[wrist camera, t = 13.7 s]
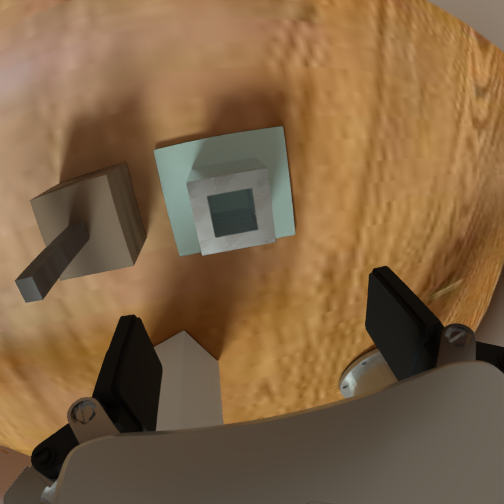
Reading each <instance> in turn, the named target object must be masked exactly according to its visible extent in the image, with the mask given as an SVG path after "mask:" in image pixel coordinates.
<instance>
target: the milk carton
mask: <svg viewBox="0 0 504 504" xmlns="http://www.w3.org/2000/svg"><path fill="white" fill-rule="evenodd" d="M154 349H155V351H156V353H157V355H158V358H159V360H160V362H161V364H162V368H163V374H162V381H161V389H160V398H159V406H158V415H157V425H156V431H164V430H177V429H188V428H199V427H208V426H217V425H223V413H222V401H221V389H220V375H219V362H218V361H217V360H216V359H215V358H213V357H212V356H211V355H210V354H209V353H208V352H207V351H206V350H205V349H204V348H203V347H201V346H200V345H199V344H198V343H197V342H196V341H195V340H194V339H193V338H192V337H191V336H190V335H189V334H188V333H187V332H186V331H182V332H180V333H178V334H176V335H174V336H173V337H171V338H169V339H167V340H166V341H164V342H162V343H160V344H159V345H157V346H155V347H154Z"/></svg>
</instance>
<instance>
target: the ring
mask: <svg viewBox="0 0 504 504" xmlns="http://www.w3.org/2000/svg"><path fill="white" fill-rule="evenodd" d="M186 185H187V190H188V194H189V199H190V204H191V208H192V213H193V217H194V222H195V226H196V231H197V235H198V240H199V244H200V248H201V252H202V256H203V255H208V254H214V253H219V252H224V251H230V250H235V249H241V248H246V247H252V246H257V245H263V244H268V243H274V242H276V235H275V226H274V218H273V209H272V201H271V193H270V185H269V178H268V170H267V168H266V167H265V166H264V165H263V164H262V163H261V162H260V161H259V160H258V159H257V158H256V157H254V158H248V159H242V160H236V161H230V162H224V163H218V164H213V165H208V166H202V167H197V168H192V169H191V171H190V173H189V176H188V179H187V182H186ZM243 189H246V190H247V197H248V203H249V207H247V208H241V209H235V210H230V211H224V212H219V213H214V210H213V205H212V200H211V195H215V194H221V193H226V192H232V191H238V190H243Z"/></svg>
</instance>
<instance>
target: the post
mask: <svg viewBox="0 0 504 504" xmlns="http://www.w3.org/2000/svg"><path fill="white" fill-rule="evenodd" d="M30 202H31V205H32V208H33V211H34V214H35V217H36V220H37V223H38V226H39V229H40V232H41V235H42V237H43V240H44V243H45V245H46V248H45V249H44V250H43V251H42V252H41V253H40V254H39V255H38V256H37V257H36V258H35V259H34V260H33V261H32V263H31V264H30V265H29V266H28V267H27V268H26V269H25V270H24V271H23V272H22V273H21V274H20V276H19V277H18V278H17V279H16V280H15V282H16V284H17V286H18V288H19V290H20V292H21V294H22V296H23V298H24V300H25V302H26V303H27V302H33V301H38V300H43V299H44V298H45V296H46V295H47V293H48V292H49V291H50V289H51V288H52V286H53V285H54V284H55V282H56V281H57V280H58V278H59V279H60V281H61V280H66V279H71V278H76V277H80V276H85V275H90V274H95V273H100V272H105V271H110V270H115V269H120V268H125V267H130V266H134V264H135V262H136V260H137V258H138V255H139V253H140V251H141V249H142V247H143V245H144V242H145V240H146V238H147V237H146V234H145V231H144V227H143V224H142V220H141V217H140V213H139V210H138V206H137V202H136V199H135V195H134V191H133V187H132V183H131V179H130V175H129V171H128V167H127V163H126V162H125V163H122V164H118V165H115V166H111V167H108V168H105V169H101V170H98V171H95V172H92V173H89V174H86V175H83V176H79V177H76V178H74V179H71V180H68V181H65V182H62V183H59V184H57V185H56V186H54V187H52V188H50V189H49V190H47V191H45V192H43V193H42V194H40V195H38V196H37V197H35V198H33V199H32V200H30Z"/></svg>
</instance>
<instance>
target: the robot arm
mask: <svg viewBox="0 0 504 504" xmlns="http://www.w3.org/2000/svg"><path fill="white" fill-rule="evenodd" d="M365 326H366V330H367V332H368V334H369V335H370V337H371V338H372V340H373V342H374V343H375V345H376V346H377V349H374V350H372V351H370V352H368V353H366V354H364V355H363V356H361V357H360V358H358V359H357V360H356V361H354V362H353V363H352V364H351V365H350V366H349V367H348V368H347V369H346V371H345V372H344V373H343V375H342V377H341V379H340V382H339V389H340V392H341V394H342V395H343V396H344V397H345V398H346V399H343V400H339V401H336V402H332V403H328V404H325V405H321V406H317V407H313V408H309V409H305V410H301V411H296V412H292V413H287V414H283V415H278V416H273V417H268V418H262V419H257V420H251V421H245V422H238V423H232V424H224V425H217V426H208V427H199V428H188V429H177V430H164V431H156V425H157V415H158V406H159V398H160V389H161V381H162V374H163V368H162V364H161V362H160V360H159V358H158V355H157V353H156V351H155V349H154V347H153V345H152V343H151V341H150V338H149V336H148V334H147V332H146V329H145V327H144V325H143V323H142V320H141V319H140V318H139V317H138V318H137V317H136V316H135V315H127V316H121V317H120V319H119V322H118V325H117V327H116V330H115V333H114V335H113V338H112V341H111V344H110V347H109V349H108V351H107V353H106V355H105V358H104V361H103V364H102V367H101V370H100V373H99V376H98V379H97V382H96V385H95V389H94V392H93V395H92V397H84V398H80V399H78V400H76V401H75V402H74V403H73V404H72V405H71V406H70V408H69V410H68V412H67V419H68V422H69V423H68V424H67V425H65V426H64V427H63V428H61V429H60V430H58V431H57V432H56V433H54V434H53V435H51V436H50V437H49V438H47V439H46V440H44V441H43V442H41V443H40V444H39V445H38V446H36V447H35V449H34V450H33V452H32V456H31V462H32V466H31V467H29V466H27V467H26V468H25V469H24V470H23V472H22V473H21V474H20V475H19V476H18V478H17V479H16V480H15V481H14V483H13V484H12V485H11V487H10V488H9V489H8V490H7V492H6V493H5V495H4V499H3V503H4V504H504V347H500V346H496V345H491V344H486V343H482V342H478V341H476V337H475V334H474V332H473V331H472V330H471V329H470V328H469V327H467V326H465V325H463V324H458V323H454V324H449V325H447V326H446V327H444V326H443V325H442V324H441V322H440V320H439V319H438V318H437V317H436V316H435V315H434V314H433V313H432V312H431V311H430V310H429V308H428V307H427V306H426V305H425V304H424V303H423V302H422V301H421V300H420V299H419V298H418V297H417V296H416V295H415V294H414V293H413V292H412V291H411V290H410V289H409V288H408V287H407V285H406V284H405V283H404V282H403V281H402V280H401V279H400V278H399V277H398V276H397V275H396V274H395V273H394V272H393V271H392V270H391V269H390V268H389V267H387V266H383V267H378V268H374V269H373V271H372V273H370V274H369V283H368V298H367V310H366V321H365Z"/></svg>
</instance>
